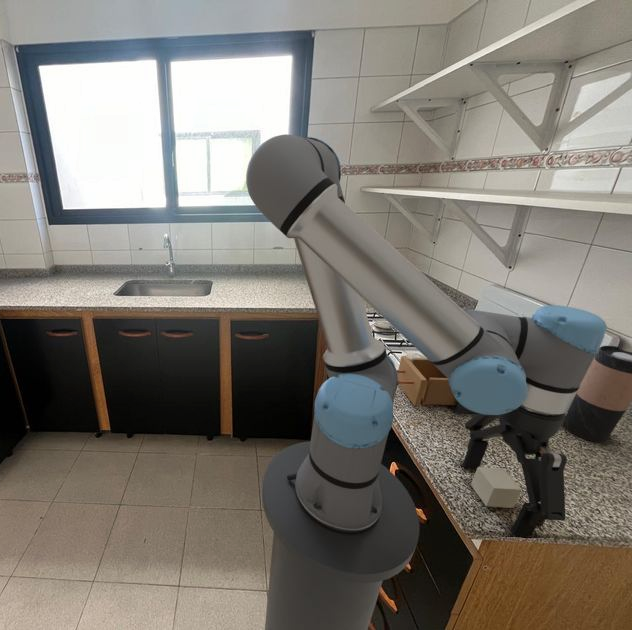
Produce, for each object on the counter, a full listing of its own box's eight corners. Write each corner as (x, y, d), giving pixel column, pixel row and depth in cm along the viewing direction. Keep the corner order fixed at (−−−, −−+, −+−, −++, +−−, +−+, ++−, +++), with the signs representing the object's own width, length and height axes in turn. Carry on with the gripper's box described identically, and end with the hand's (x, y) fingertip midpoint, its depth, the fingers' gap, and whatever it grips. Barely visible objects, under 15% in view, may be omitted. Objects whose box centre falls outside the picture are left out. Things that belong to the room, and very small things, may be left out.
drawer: (394, 405, 86) (400, 379, 82) (377, 379, 96) (382, 355, 93) (471, 408, 84) (481, 381, 81) (446, 381, 95) (454, 357, 92)
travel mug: (579, 441, 75) (622, 362, 67) (552, 417, 82) (588, 344, 74) (619, 444, 74) (667, 365, 66) (588, 420, 81) (629, 346, 73)
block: (486, 506, 61) (494, 488, 59) (470, 484, 66) (477, 466, 64) (513, 508, 61) (522, 489, 59) (495, 486, 65) (503, 468, 63)
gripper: (645, 465, 43) (576, 571, 51) (504, 361, 66) (472, 446, 74) (580, 462, 43) (522, 567, 52) (463, 360, 66) (436, 444, 75)
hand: (493, 496), depth 63 cm, fingers open, 13 cm apart
